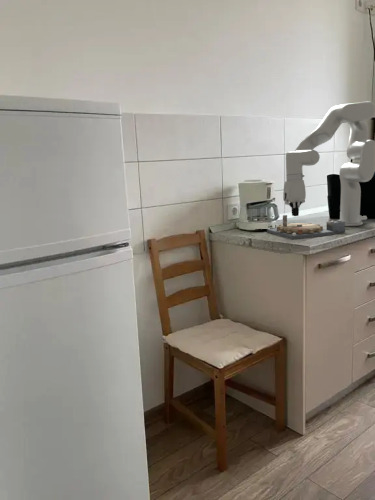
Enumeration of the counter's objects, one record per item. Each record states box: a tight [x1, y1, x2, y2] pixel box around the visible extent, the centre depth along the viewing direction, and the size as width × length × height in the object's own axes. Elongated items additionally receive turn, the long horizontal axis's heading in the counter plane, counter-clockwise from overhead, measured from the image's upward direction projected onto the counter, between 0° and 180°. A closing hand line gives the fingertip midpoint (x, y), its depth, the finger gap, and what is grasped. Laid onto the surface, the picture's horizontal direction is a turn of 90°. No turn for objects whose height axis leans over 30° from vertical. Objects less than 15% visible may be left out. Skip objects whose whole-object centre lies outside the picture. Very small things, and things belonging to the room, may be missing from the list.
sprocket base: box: [266, 227, 335, 240], centre depth 204 cm, size 22×22×2 cm
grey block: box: [326, 219, 346, 234], centre depth 203 cm, size 4×7×6 cm, turn 110°
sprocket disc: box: [276, 214, 324, 234], centre depth 203 cm, size 21×21×7 cm
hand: (295, 215), depth 209 cm, fingers closed
